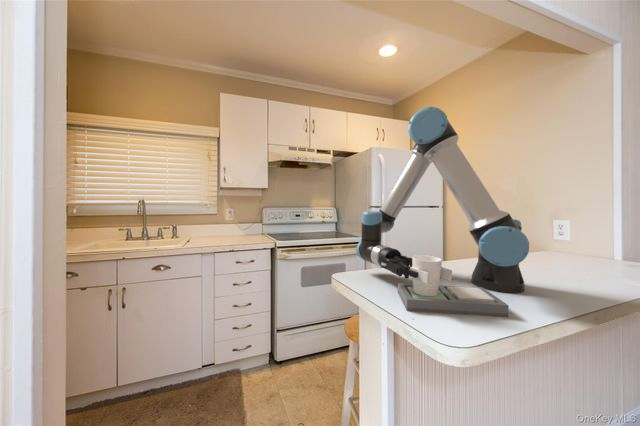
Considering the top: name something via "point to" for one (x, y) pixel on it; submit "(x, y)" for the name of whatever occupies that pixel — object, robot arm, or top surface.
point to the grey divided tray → (452, 303)
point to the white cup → (430, 266)
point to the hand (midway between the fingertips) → (439, 276)
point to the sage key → (414, 295)
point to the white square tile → (469, 294)
